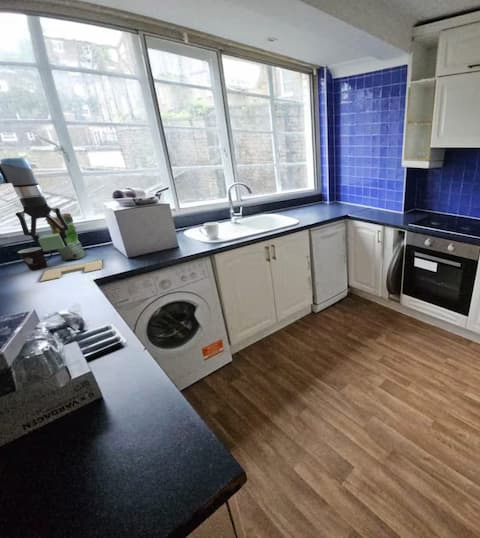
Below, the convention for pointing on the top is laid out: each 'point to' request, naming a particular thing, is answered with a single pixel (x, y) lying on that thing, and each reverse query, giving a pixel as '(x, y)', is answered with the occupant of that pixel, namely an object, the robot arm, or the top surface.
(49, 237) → the green block
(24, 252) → the coffee mug
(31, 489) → the top surface
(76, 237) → the pouch
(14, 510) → the top surface
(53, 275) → the beige flat board
